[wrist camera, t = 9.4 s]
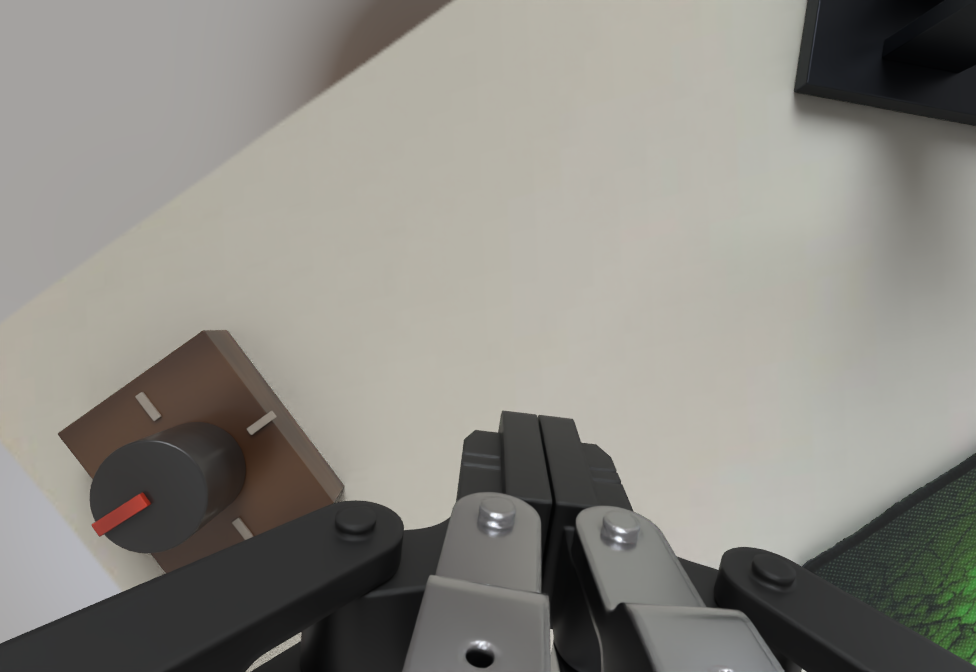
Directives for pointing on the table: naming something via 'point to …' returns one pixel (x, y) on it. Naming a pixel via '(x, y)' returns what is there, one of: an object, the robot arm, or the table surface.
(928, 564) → the mouse mat
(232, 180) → the table surface
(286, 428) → the panel
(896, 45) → the bracket
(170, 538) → the lock knob
